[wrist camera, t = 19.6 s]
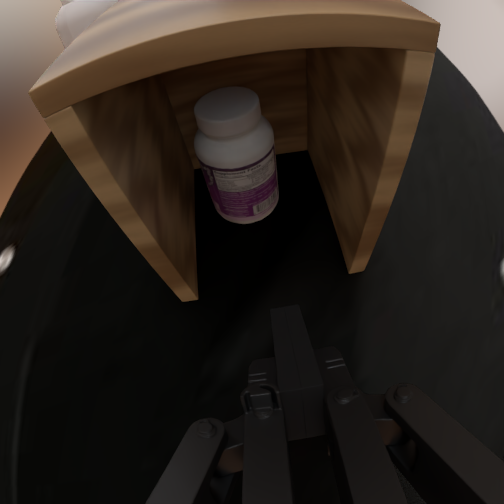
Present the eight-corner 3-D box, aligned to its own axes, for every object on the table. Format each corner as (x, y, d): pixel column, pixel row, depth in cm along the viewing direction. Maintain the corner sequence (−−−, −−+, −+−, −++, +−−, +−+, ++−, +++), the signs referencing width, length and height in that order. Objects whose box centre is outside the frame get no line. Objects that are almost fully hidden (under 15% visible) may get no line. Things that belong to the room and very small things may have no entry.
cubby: (364, 271, 21) (441, 23, 6) (182, 302, 21) (27, 93, 7) (316, 140, 28) (314, -36, 13) (182, 163, 28) (121, -3, 14)
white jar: (140, 68, 43) (105, -30, 26) (191, 73, 38) (157, -48, 21) (82, 110, 39) (32, 7, 21) (125, 123, 34) (66, -13, 17)
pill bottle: (214, 180, 27) (185, 88, 18) (274, 172, 26) (264, 75, 18) (215, 231, 24) (178, 135, 16) (283, 222, 24) (276, 119, 15)
